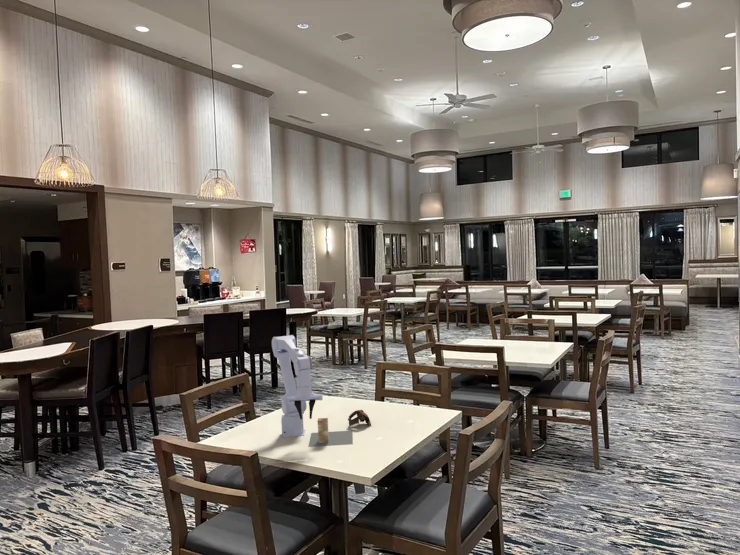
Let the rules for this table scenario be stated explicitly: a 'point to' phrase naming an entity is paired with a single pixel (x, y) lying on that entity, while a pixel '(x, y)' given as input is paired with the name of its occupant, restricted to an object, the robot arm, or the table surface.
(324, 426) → the maple block
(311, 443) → the charcoal mat
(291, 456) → the table surface
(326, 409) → the table surface
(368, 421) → the brown curved piece
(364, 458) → the table surface
